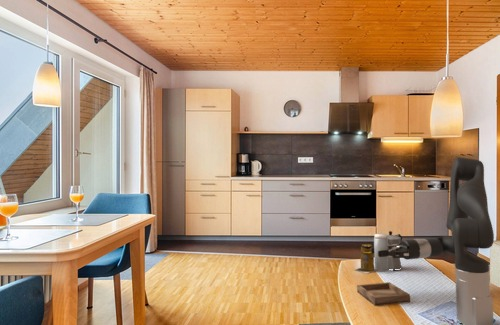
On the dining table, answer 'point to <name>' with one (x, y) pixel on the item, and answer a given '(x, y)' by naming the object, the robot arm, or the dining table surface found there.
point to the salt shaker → (380, 245)
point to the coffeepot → (393, 262)
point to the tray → (383, 293)
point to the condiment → (366, 259)
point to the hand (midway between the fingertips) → (374, 252)
